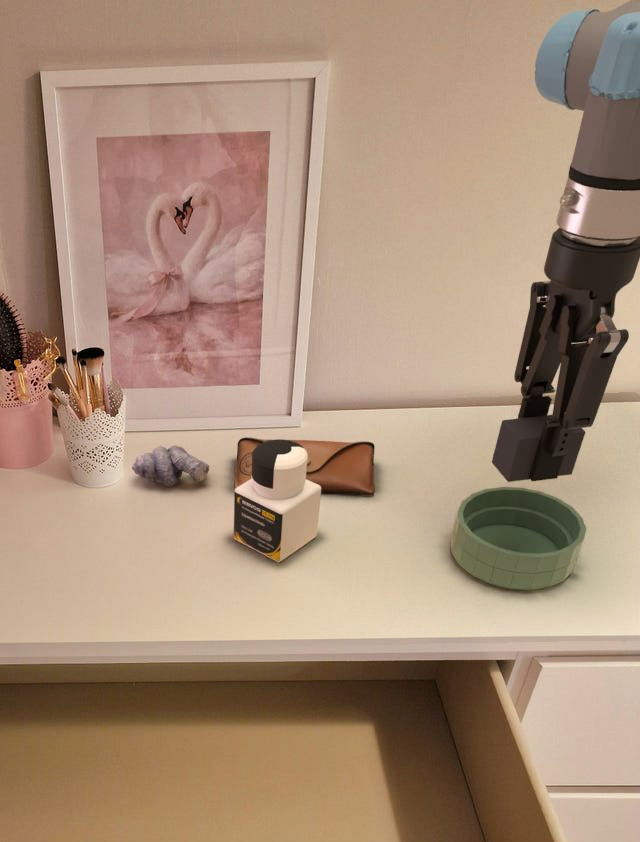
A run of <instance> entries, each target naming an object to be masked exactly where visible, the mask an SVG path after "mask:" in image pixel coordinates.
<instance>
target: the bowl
mask: <svg viewBox="0 0 640 842" xmlns="http://www.w3.org/2000/svg"><path fill="white" fill-rule="evenodd" d="M586 532H587V527H586V524H585V520H584V518H583V516H582V515H581V514H580V513H579V512H578V511H577V510H576V508H574V507H573V506H572V505H570V504H568V503H567V502H565V501H564V500H562V499H561V498H559V497H556V496H554V495H551V494H548V493H547V492H543V491H540V490H536V489H532V488H527V487H515V486H499V487H498V486H497V487H491V488H484V489H482V490H479V491H475V492H473V493H471V494H469V495H468V496H467V497H466V498H464V499H463V500H462V501H461V502H460V504H459V507H458V509H457V512H456V516H455V521H454V525H453V529H452V533H451V538H450V551H451V555H452V556H453V557H454V559H455V561H456V562H457V564H458V565H459V567H461V568H463V570H464V571H466V572H468V573H469V574H470V575H471V576H473V577H474V578H476V579H478V580H480V581H482V582H485V583H486V584H490V585H491V586H495V587H498V588H504V589H509V590H516V591H517V590H518V591H529V590H537V589H544V588H549V587H552V586H554V585H555V586H556V585H557V584H559V583H561V582H563V581H564V580H566V579H567V578H568V577H569V576H570V575H571V574H572V573H573V571H574V568H575V566H576V563H577V560H578V557H579V555H580V552H581V550H582V549H581V548H582V545H583V543H584V540H585V537H586Z"/></svg>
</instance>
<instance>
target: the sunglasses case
mask: <svg viewBox="0 0 640 842" xmlns="http://www.w3.org/2000/svg"><path fill="white" fill-rule="evenodd" d="M269 440H270V439H262V438H256V437H250V436H249V437H247V436H245V437H241V438H240V439H238V442H237V450H236V451H237V452H236V459H235V460H236V461H235V470H234V475H235V476H234V490H235V489H236V488H237V487H239V486H240V485H242V484H244V483H245V482H247V481H249V480H250V479H251V474H252V453H253V450H254V449H255V448H256V447H257V446H258V445H259V444H261V443H263V442H266V441H269ZM289 440H290V441H293V442H296V443H298V444H300V445H301V446H302V447H303V448H304V449H305V450H306V452H307V455H308V456H307V469H306V479H307V480H309V481H311V482H313V483H315V484H318V485H320V486H321V494H344V495H345V494H348V495H349V494H351V495H353V494H356V495H357V494H358V495H359V494H360V495H361V494H363V495H364V494H369V495H372V494H374V493H375V492H376V486H375V462H374V461H375V444H374V443H373V442H372V441H354V442H346V441H334V440H333V441H331V440H314V439H313V440H309V439H289Z"/></svg>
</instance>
